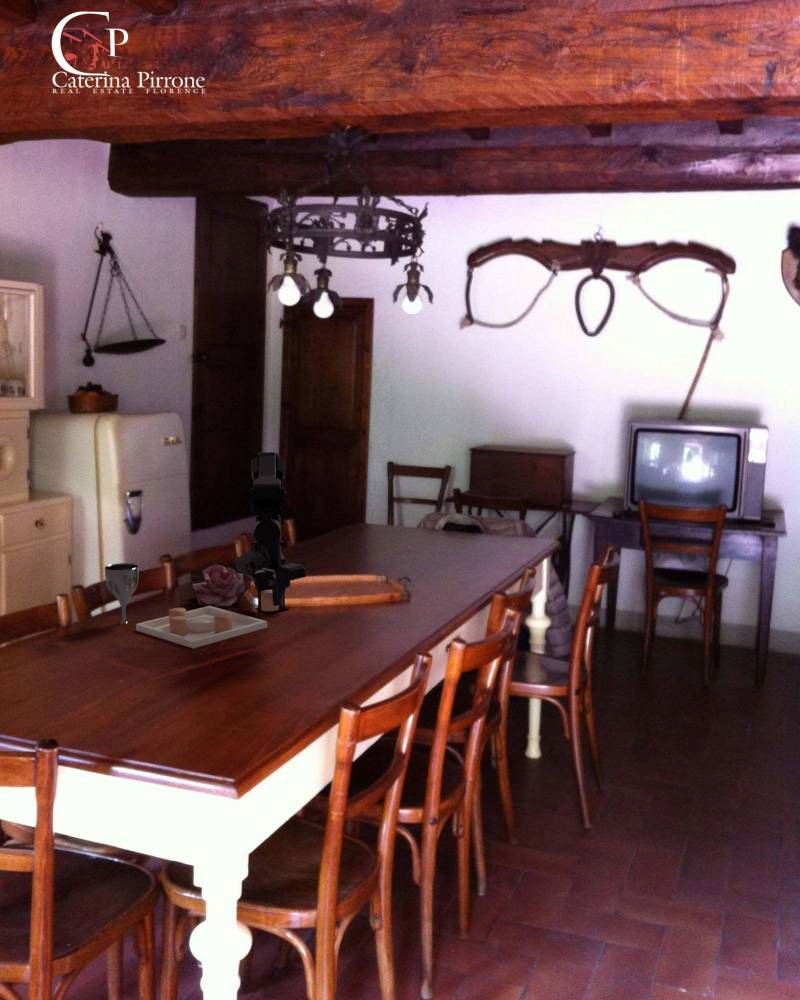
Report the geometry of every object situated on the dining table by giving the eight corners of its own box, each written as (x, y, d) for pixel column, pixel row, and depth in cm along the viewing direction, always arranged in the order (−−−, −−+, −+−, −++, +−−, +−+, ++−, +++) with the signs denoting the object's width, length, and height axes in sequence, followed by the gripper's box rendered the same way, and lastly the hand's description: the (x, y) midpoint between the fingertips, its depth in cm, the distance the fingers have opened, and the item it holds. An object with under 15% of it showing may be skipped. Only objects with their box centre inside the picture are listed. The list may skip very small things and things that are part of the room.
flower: (183, 589, 271) (189, 557, 267) (235, 590, 278) (242, 559, 274) (196, 618, 259) (203, 584, 255) (250, 618, 266) (258, 585, 262)
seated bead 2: (180, 631, 239) (180, 615, 238) (191, 634, 236) (190, 618, 235) (166, 635, 236) (166, 618, 235) (177, 638, 233) (176, 621, 232)
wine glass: (107, 632, 242) (104, 571, 240) (107, 623, 249) (104, 564, 247) (141, 629, 244) (138, 569, 242) (140, 620, 252) (138, 562, 249)
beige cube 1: (235, 631, 238) (235, 615, 238) (224, 636, 235) (223, 619, 234) (222, 629, 240) (222, 613, 240) (211, 633, 237) (210, 617, 236)
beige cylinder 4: (179, 622, 246) (179, 606, 245) (189, 625, 243) (189, 609, 243) (166, 626, 243) (165, 610, 242) (176, 629, 240) (175, 613, 240)
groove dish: (209, 615, 256) (209, 603, 256) (267, 631, 242) (267, 619, 242) (136, 634, 240) (135, 622, 240) (193, 652, 226) (192, 639, 225)
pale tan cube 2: (270, 605, 234) (270, 588, 233) (282, 608, 231) (281, 591, 230) (257, 609, 231) (257, 592, 230) (269, 612, 228) (268, 594, 228)
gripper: (214, 537, 228) (216, 604, 231) (268, 548, 216) (270, 618, 219) (251, 530, 237) (253, 595, 239) (306, 540, 225) (307, 608, 227)
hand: (269, 604), depth 231 cm, fingers closed on pale tan cube 2, 4 cm apart
